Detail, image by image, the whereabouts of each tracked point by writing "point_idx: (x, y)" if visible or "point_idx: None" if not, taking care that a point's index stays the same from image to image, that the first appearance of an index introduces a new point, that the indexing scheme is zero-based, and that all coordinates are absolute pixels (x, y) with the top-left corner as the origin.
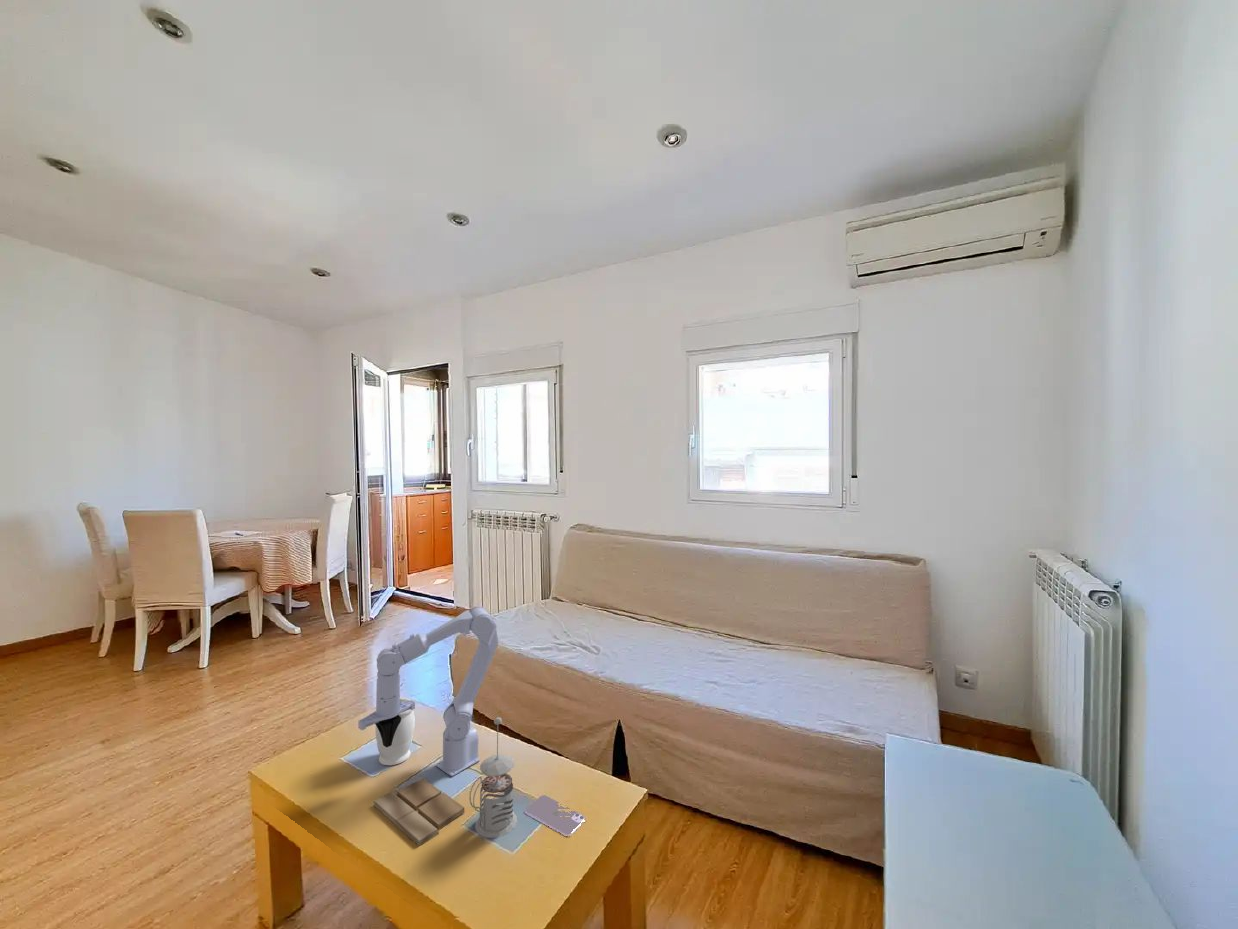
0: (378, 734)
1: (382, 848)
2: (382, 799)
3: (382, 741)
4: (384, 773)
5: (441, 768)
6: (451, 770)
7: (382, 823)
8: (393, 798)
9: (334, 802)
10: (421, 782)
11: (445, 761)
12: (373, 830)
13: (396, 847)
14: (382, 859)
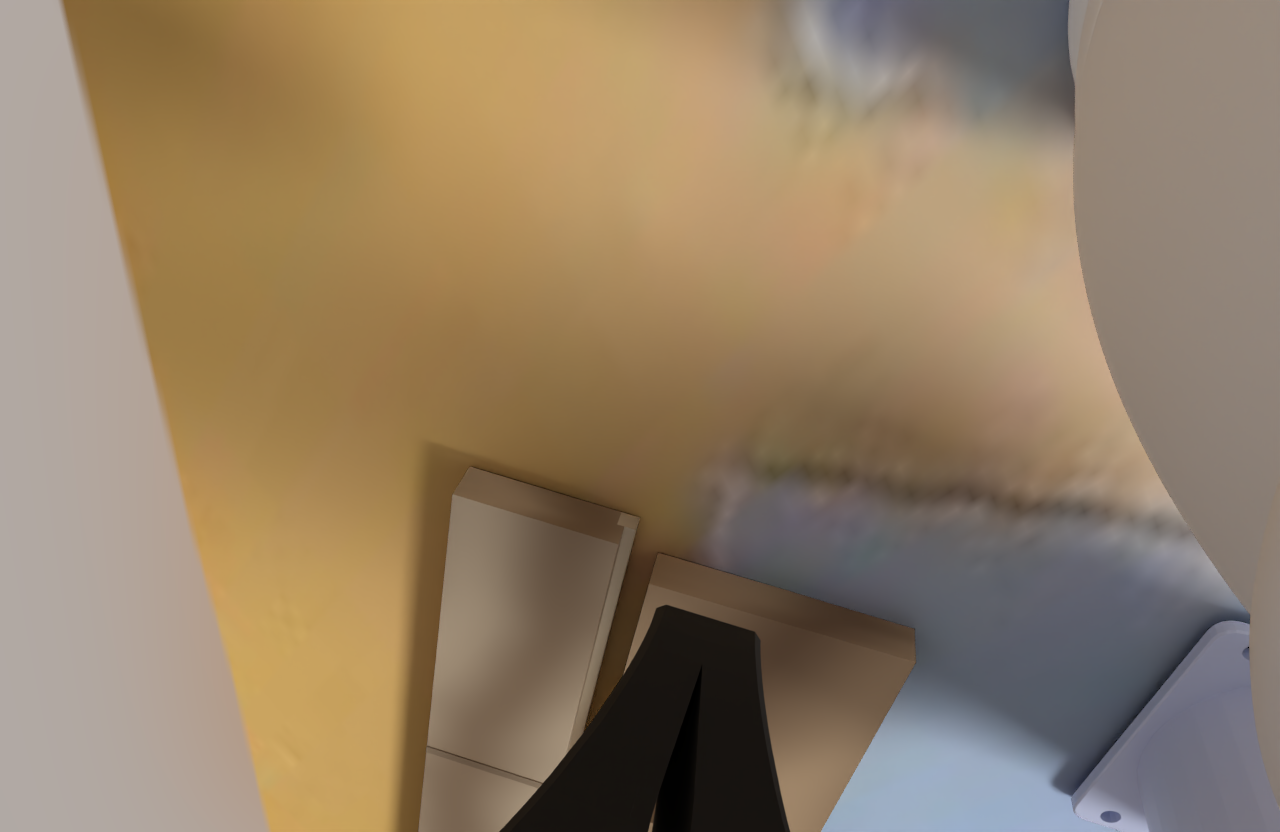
0: (1129, 37)
1: (293, 740)
2: (502, 544)
3: (637, 652)
4: (906, 162)
5: (1156, 707)
6: (1139, 794)
7: (398, 634)
8: (561, 612)
9: (258, 68)
10: (846, 690)
11: (1167, 819)
12: (327, 623)
13: (346, 791)
14: (258, 774)
